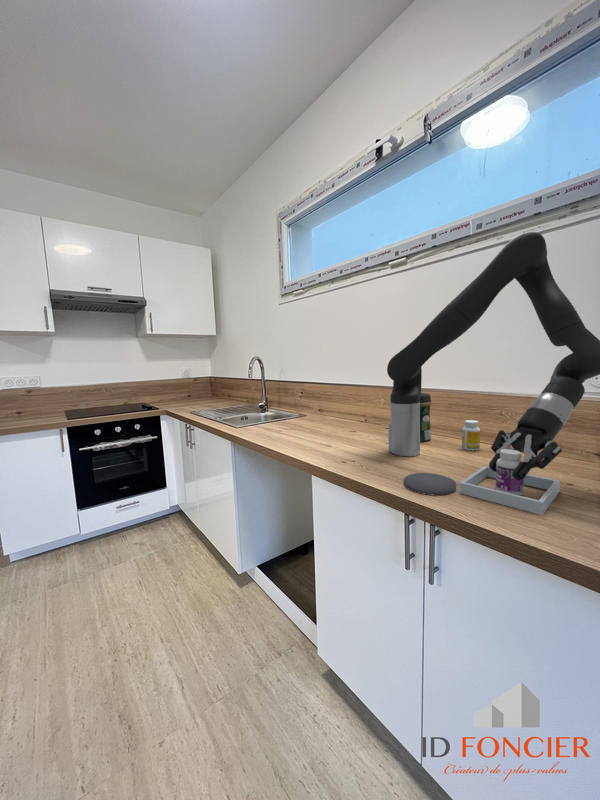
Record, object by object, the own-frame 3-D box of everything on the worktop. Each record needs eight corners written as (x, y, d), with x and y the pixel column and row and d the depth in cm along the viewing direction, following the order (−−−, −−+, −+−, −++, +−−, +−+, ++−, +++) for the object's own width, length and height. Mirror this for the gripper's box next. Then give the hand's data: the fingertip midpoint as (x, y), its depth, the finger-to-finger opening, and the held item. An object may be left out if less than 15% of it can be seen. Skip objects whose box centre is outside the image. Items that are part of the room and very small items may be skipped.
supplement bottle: (458, 448, 109) (458, 420, 108) (468, 445, 111) (469, 419, 110) (472, 451, 104) (473, 423, 103) (483, 449, 107) (483, 421, 105)
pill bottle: (490, 488, 75) (490, 449, 74) (511, 486, 76) (512, 447, 74) (506, 497, 70) (507, 455, 69) (529, 495, 70) (530, 453, 69)
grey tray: (459, 492, 73) (459, 482, 73) (484, 475, 84) (484, 466, 83) (542, 515, 62) (542, 502, 61) (559, 491, 72) (560, 480, 72)
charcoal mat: (394, 485, 79) (394, 482, 79) (419, 473, 87) (419, 469, 87) (442, 499, 70) (442, 495, 70) (464, 484, 78) (464, 480, 78)
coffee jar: (400, 438, 126) (400, 392, 124) (415, 435, 130) (415, 390, 127) (419, 443, 117) (419, 394, 115) (434, 440, 121) (434, 392, 119)
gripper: (508, 403, 79) (469, 455, 77) (571, 410, 66) (525, 474, 64) (524, 421, 81) (485, 473, 80) (588, 432, 68) (543, 495, 66)
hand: (503, 473), depth 72 cm, fingers closed on pill bottle, 5 cm apart
